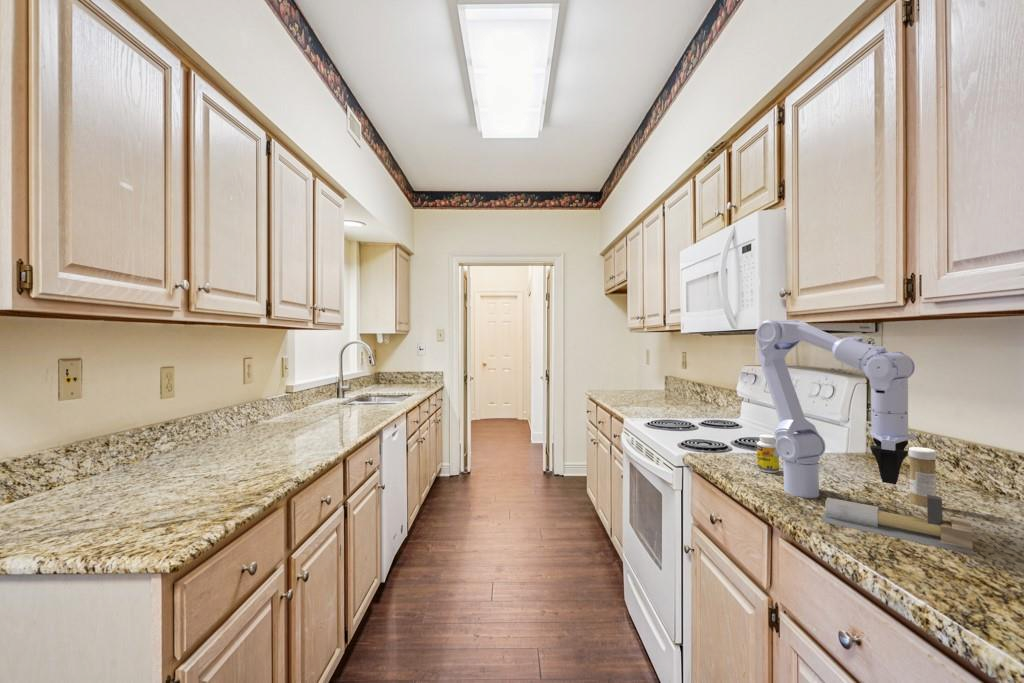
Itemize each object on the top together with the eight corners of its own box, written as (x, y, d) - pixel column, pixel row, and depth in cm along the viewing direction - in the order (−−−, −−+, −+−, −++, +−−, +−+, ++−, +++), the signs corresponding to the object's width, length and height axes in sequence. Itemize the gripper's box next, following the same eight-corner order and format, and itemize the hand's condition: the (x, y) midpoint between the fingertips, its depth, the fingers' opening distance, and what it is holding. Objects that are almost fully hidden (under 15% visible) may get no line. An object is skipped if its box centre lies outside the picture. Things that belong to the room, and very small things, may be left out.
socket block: (939, 533, 84) (939, 514, 84) (969, 539, 81) (969, 520, 81) (941, 542, 80) (940, 523, 80) (972, 549, 77) (972, 529, 77)
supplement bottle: (753, 469, 129) (752, 435, 129) (765, 466, 131) (764, 433, 131) (771, 474, 124) (770, 438, 124) (783, 471, 126) (782, 436, 126)
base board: (827, 511, 98) (827, 506, 98) (968, 539, 83) (968, 534, 83) (820, 526, 90) (820, 521, 90) (974, 560, 76) (974, 554, 76)
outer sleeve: (827, 512, 95) (827, 497, 95) (878, 522, 89) (878, 506, 89) (825, 516, 93) (825, 501, 93) (877, 527, 87) (877, 511, 87)
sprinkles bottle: (909, 502, 101) (908, 445, 101) (937, 507, 98) (936, 448, 98) (909, 508, 98) (908, 449, 98) (937, 514, 95) (936, 452, 95)
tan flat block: (869, 518, 90) (868, 485, 90) (955, 535, 81) (954, 499, 81) (868, 521, 88) (867, 487, 88) (956, 539, 80) (955, 502, 80)
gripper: (916, 419, 81) (917, 492, 81) (915, 408, 91) (916, 472, 91) (867, 415, 85) (868, 484, 86) (872, 405, 96) (872, 466, 96)
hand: (889, 477), depth 89 cm, fingers open, 7 cm apart
